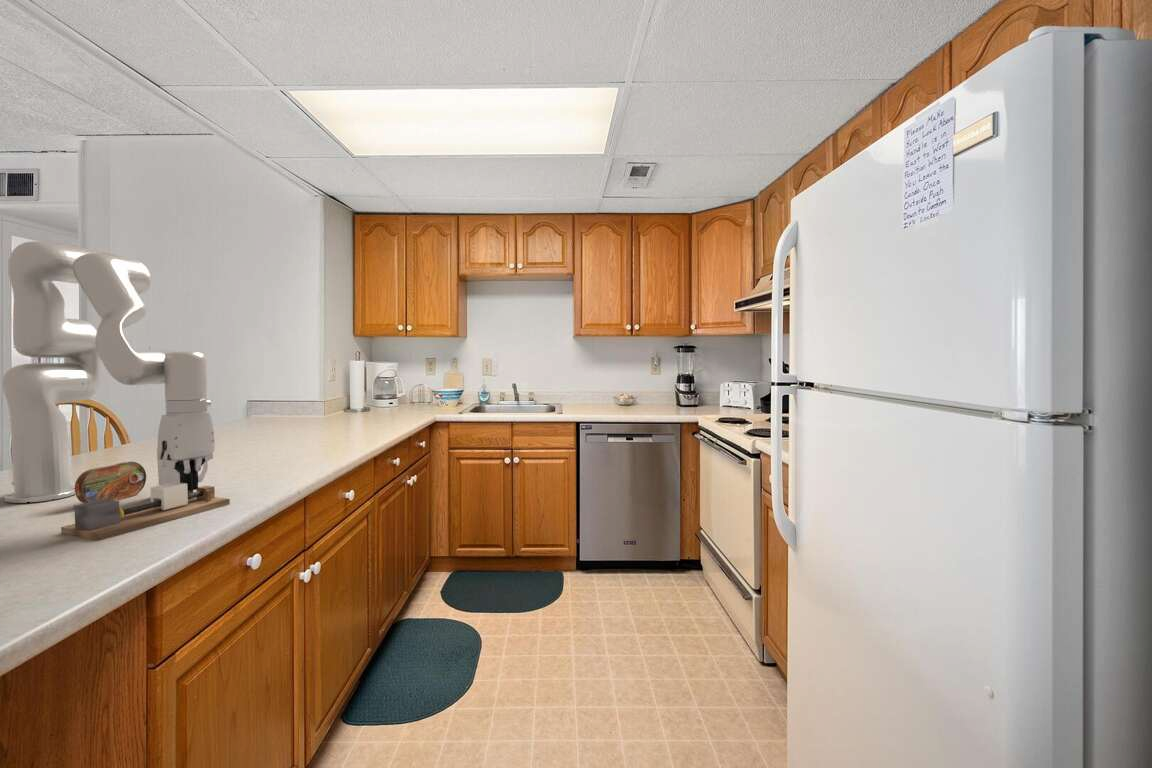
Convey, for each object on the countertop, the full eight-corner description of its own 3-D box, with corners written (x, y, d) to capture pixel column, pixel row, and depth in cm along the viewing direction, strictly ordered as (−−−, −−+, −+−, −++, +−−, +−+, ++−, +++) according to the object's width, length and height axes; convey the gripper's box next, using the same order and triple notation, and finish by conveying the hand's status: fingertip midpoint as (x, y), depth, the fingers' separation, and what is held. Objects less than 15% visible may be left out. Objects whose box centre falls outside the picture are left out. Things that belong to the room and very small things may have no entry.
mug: (155, 500, 129) (153, 449, 128) (161, 494, 134) (159, 445, 134) (207, 495, 133) (206, 446, 133) (210, 489, 139) (209, 442, 139)
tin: (84, 509, 121) (82, 471, 121) (72, 508, 122) (70, 471, 121) (148, 492, 136) (146, 458, 136) (137, 492, 137) (135, 458, 136)
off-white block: (151, 508, 117) (150, 487, 117) (175, 502, 122) (174, 482, 122) (164, 510, 116) (163, 488, 116) (187, 504, 121) (187, 483, 120)
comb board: (61, 533, 105) (60, 504, 105) (195, 499, 130) (194, 475, 130) (99, 540, 102) (97, 510, 101) (229, 504, 126) (228, 479, 126)
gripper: (206, 404, 130) (209, 481, 131) (138, 410, 116) (141, 496, 117) (230, 405, 128) (232, 483, 129) (163, 411, 114) (166, 499, 115)
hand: (189, 489), depth 123 cm, fingers closed
